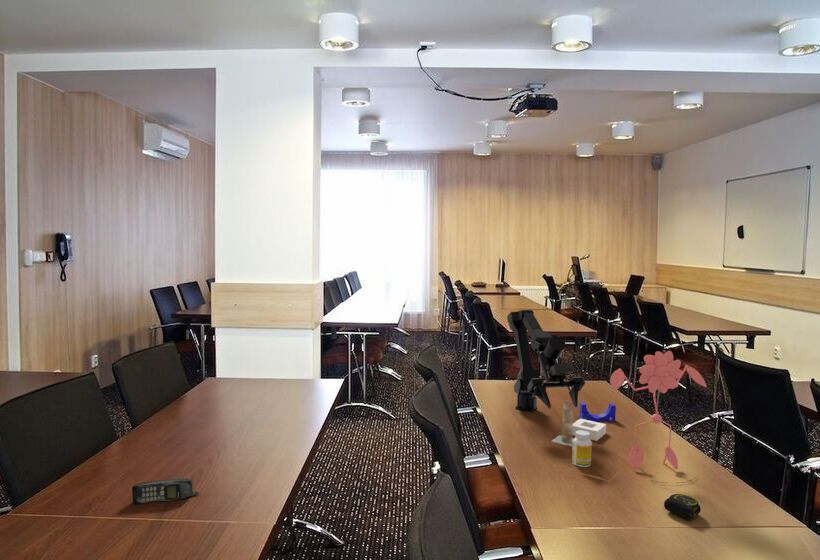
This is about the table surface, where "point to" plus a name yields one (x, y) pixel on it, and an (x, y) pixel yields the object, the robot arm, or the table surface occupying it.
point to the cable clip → (606, 416)
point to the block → (590, 428)
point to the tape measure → (682, 506)
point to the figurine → (658, 376)
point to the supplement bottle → (582, 449)
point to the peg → (567, 422)
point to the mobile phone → (162, 490)
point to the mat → (559, 440)
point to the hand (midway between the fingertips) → (563, 407)
